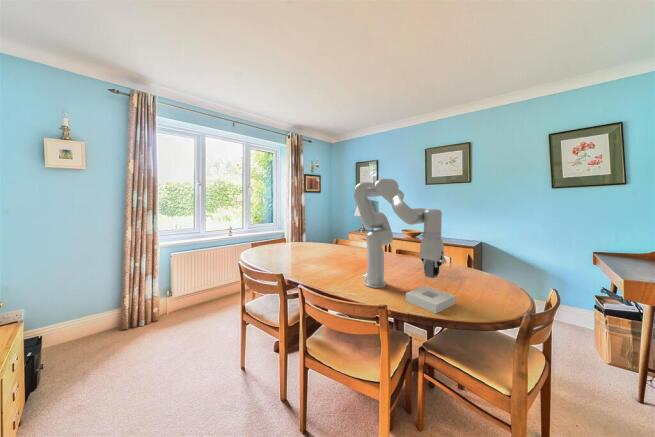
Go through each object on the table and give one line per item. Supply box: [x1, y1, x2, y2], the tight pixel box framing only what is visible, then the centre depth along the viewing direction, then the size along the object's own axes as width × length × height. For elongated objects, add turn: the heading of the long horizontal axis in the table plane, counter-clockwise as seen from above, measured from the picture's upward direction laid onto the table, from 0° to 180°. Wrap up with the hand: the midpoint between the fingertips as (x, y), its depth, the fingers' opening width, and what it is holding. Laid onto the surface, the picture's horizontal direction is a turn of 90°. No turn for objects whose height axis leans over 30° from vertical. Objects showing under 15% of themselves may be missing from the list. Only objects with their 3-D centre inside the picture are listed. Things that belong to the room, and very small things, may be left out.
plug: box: [424, 259, 439, 279], centre depth 118 cm, size 4×4×8 cm
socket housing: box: [405, 285, 456, 314], centre depth 120 cm, size 16×16×4 cm
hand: (431, 273), depth 118 cm, fingers closed on plug, 4 cm apart
